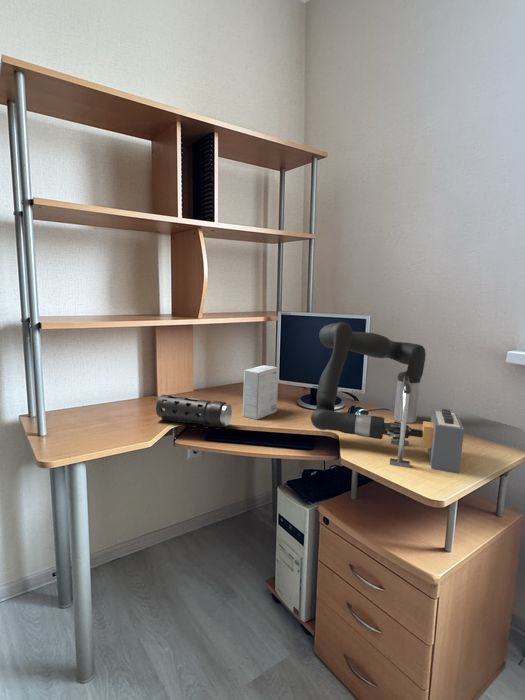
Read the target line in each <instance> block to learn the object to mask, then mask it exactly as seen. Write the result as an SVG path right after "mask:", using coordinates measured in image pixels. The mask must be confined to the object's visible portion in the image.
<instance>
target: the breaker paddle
mask: <svg viewBox="0 0 525 700" xmlns="http://www.w3.org/2000/svg"><path fill="white" fill-rule="evenodd" d="M421 430H422V431H423V437H422V438H421V437H420V439H421V440H420V443H421V448H427V449H428V448H432V440H433V432H434V424H433V422H431V421H422V429H421Z"/></svg>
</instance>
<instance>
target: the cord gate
mask: <svg viewBox="0 0 525 700" xmlns="http://www.w3.org/2000/svg"><path fill="white" fill-rule="evenodd" d="M409 394H410V382H409V377H408V376H405V377H404V378H403V392H402V402H401V412H400V421H398V422H399V423H401V428H400V438H399V439H393V437H390V439H391V440H390V444H391V445H396V446H398V449H397V451H398V452H397V458H389V465H391V466H397V467H404V468H410V465H411V462H410V460H404V450H405V446H406V447H409V446H410V445H409V443H410V442H409V440H406V438H405V432H406V425H407V424H408V423H407V413H408V403H409Z"/></svg>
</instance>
